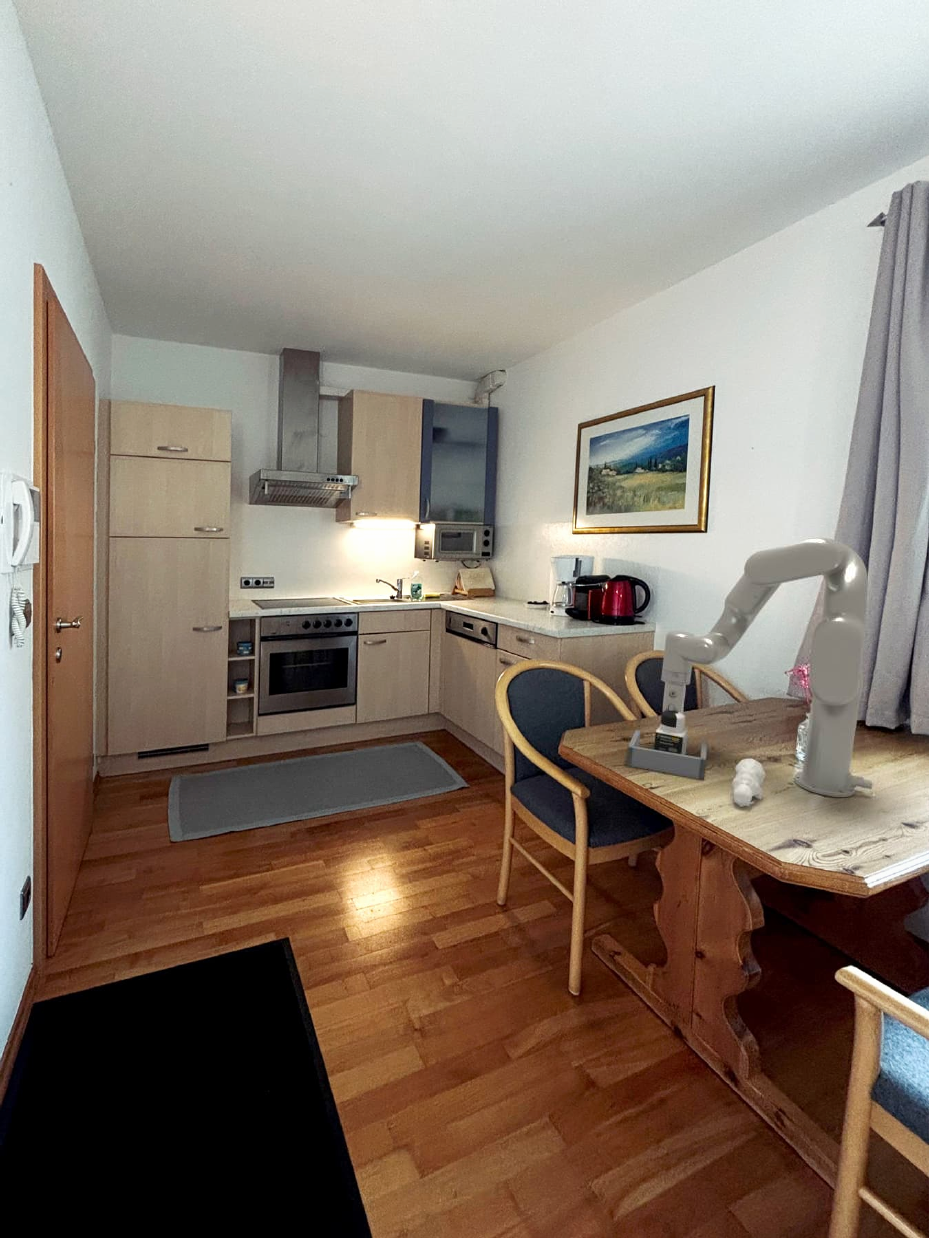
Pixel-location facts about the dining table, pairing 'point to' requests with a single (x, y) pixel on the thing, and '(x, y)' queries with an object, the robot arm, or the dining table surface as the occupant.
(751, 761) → the white animal figurine
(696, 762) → the box
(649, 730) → the dining table surface
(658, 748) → the medicine bottle
